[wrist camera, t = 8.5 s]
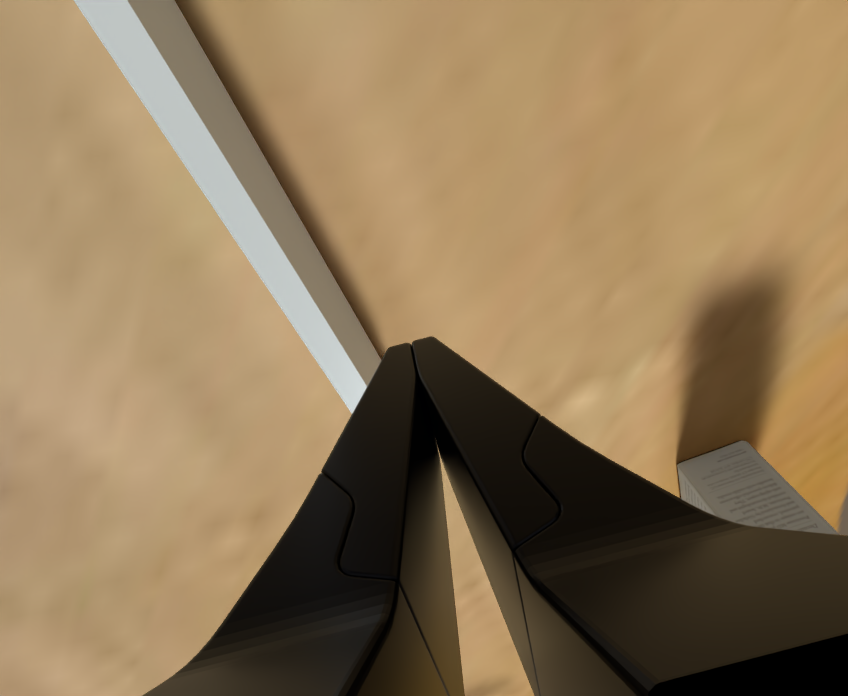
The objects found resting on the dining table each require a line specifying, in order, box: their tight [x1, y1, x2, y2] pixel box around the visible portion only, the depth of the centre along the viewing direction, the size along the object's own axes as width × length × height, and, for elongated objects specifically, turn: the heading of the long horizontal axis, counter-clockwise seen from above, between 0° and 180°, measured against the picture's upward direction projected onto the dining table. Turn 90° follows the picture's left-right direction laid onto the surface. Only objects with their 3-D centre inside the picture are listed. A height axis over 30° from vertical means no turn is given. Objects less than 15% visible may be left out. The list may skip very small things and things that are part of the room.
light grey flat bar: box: [74, 0, 381, 413], centre depth 15 cm, size 23×1×4 cm, turn 22°
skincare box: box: [677, 441, 839, 535], centre depth 25 cm, size 6×4×12 cm
